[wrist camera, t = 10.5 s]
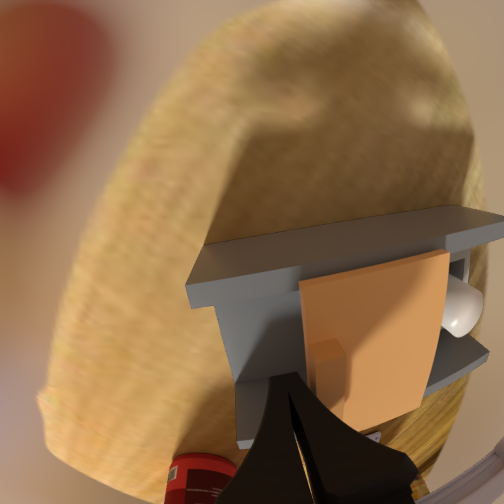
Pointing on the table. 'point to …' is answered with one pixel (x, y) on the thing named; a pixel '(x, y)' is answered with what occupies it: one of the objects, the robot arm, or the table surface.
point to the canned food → (197, 478)
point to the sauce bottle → (419, 488)
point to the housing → (318, 265)
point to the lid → (374, 336)
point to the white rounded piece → (461, 307)
